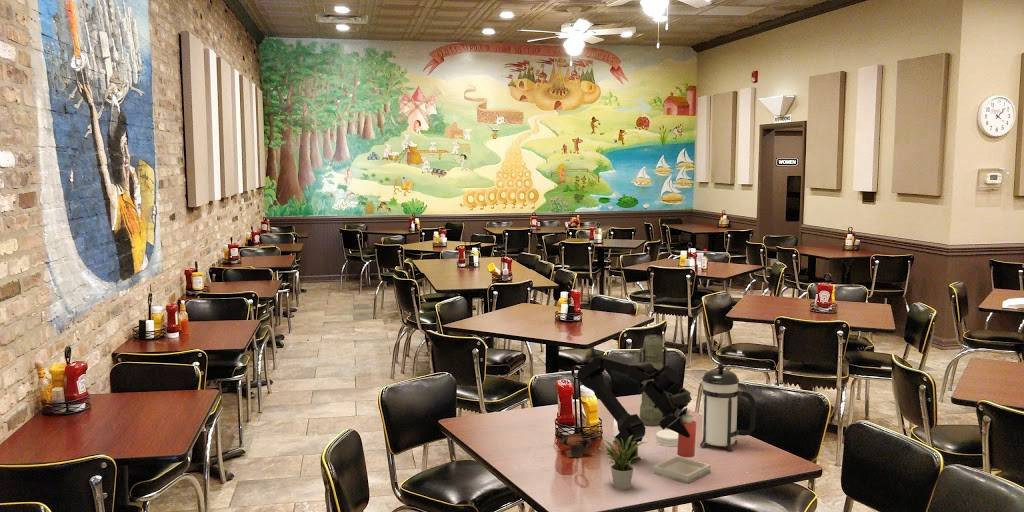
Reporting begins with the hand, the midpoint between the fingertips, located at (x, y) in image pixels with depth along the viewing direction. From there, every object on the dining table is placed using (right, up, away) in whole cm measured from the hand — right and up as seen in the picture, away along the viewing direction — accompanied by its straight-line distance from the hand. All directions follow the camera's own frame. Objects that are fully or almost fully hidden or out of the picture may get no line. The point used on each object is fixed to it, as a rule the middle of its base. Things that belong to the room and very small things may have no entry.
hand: (691, 434), depth 275 cm
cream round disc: (-1, -10, +33) cm, 34 cm away
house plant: (-23, -14, -10) cm, 29 cm away
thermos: (-4, -8, +56) cm, 56 cm away
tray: (-3, -13, +2) cm, 13 cm away
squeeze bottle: (-1, -7, +1) cm, 7 cm away
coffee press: (+18, -10, +29) cm, 36 cm away
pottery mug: (-36, -11, +20) cm, 43 cm away
